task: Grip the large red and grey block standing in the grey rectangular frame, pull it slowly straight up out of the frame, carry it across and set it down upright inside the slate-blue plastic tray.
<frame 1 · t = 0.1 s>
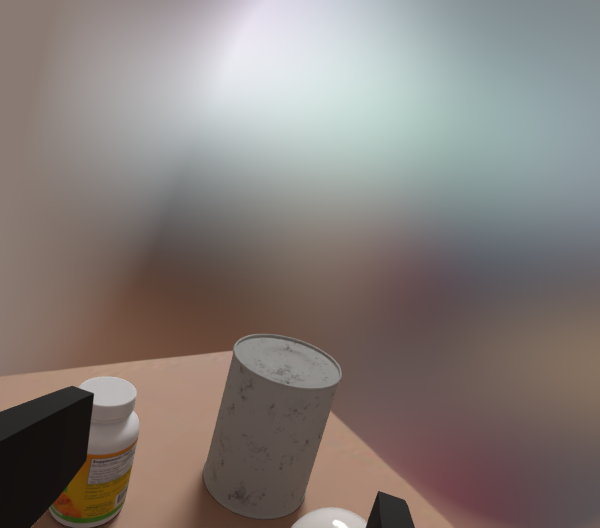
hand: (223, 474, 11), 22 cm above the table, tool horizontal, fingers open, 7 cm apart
speckled stone cylinder: (254, 480, 43), on the table
supplement bottle: (86, 504, 36), on the table
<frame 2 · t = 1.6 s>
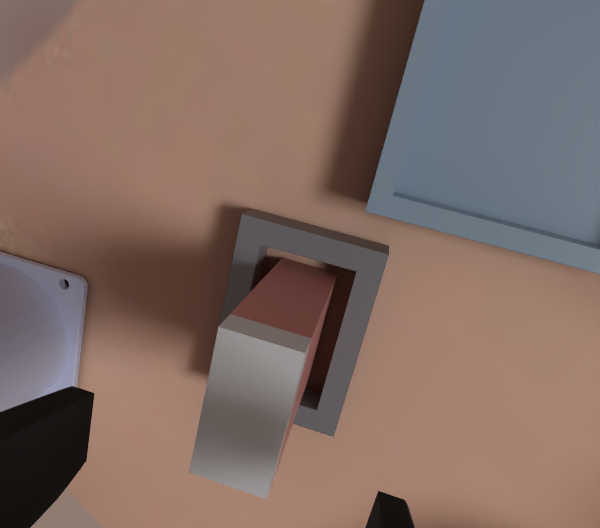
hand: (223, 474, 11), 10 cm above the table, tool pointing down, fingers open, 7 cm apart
parts tray: (549, 100, 17), on the table
red and grey block: (275, 356, 17), in the grey rectangular frame
grey rectangular frame: (296, 317, 21), on the table
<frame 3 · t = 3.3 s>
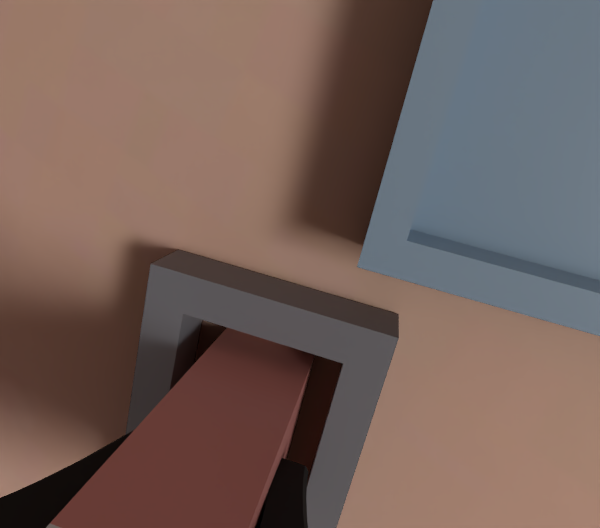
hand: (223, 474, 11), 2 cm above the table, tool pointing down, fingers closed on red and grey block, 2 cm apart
red and grey block: (196, 525, 10), in the grey rectangular frame, touching gripper
grey rectangular frame: (252, 417, 13), on the table
when the fingers open (4 cm above the table, at t = 8.5 s): red and grey block drops 1 cm, resting on parts tray.
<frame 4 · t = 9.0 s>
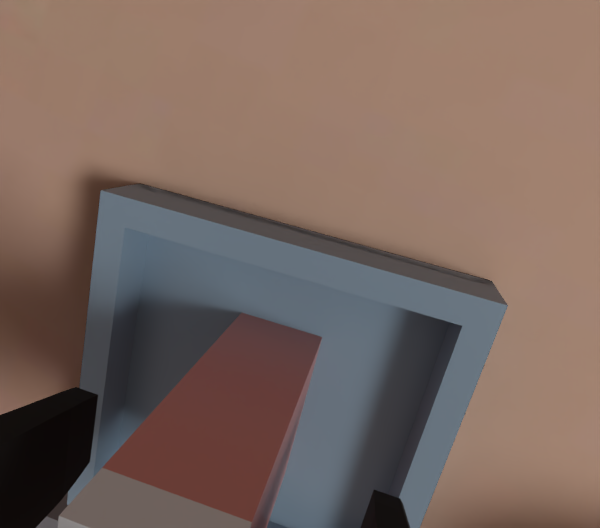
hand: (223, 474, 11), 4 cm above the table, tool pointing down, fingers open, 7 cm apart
parts tray: (268, 386, 15), on the table
red and grey block: (217, 486, 11), in the parts tray, point 5 cm above the table
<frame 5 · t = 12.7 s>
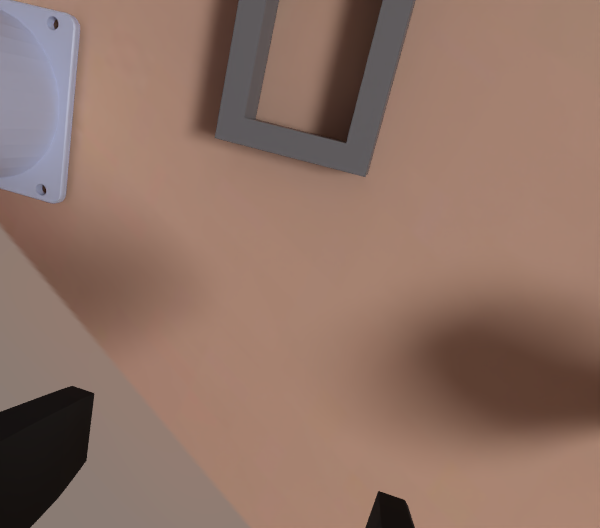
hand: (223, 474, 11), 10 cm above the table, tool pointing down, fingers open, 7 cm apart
grey rectangular frame: (321, 45, 18), on the table
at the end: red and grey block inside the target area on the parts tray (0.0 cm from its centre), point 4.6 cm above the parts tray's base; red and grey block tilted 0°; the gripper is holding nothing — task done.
